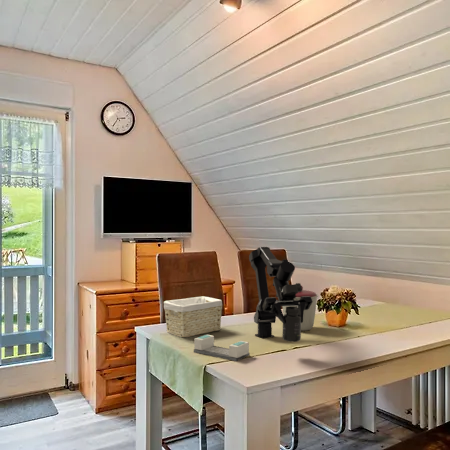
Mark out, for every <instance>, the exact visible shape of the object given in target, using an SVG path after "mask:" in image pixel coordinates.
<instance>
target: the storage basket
mask: <svg viewBox="0 0 450 450" xmlns="http://www.w3.org/2000/svg"><path fill="white" fill-rule="evenodd" d="M163 309H164V315H165V316H164V317H165V326H166V331H167V333H168V334H170V335H173V336H176V337H179V338H189V337H193V336H199V335H202V334H204V335H205V334H208V333H213V332H217V331H220V330H221V322H222V310H223V301H222V299H218V298H214V297H211V296H210V297H209V296H204V295H203V296H201V295H200V296H195V297H187V298H181V299H171V300H165V301H163Z"/></svg>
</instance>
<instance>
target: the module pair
mask: <svg viewBox="0 0 450 450" xmlns="http://www.w3.org/2000/svg"><path fill="white" fill-rule="evenodd" d="M214 343H215V336H214V335H210V334H204V335H201V336H199V337H195V338H194V344H193V345H194V349H197V350H204V349H207V348H209V347H212V346H215V344H214ZM228 346H229V347H228V349H229V356H230V357H235V358H238V357H240V356H243V355H245V354H247V353H250V352H249V351H250V343H249V341H243V340H239V341H236V342H235V343H232V344H229V345H228ZM194 349H193V350H194Z"/></svg>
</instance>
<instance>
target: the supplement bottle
mask: <svg viewBox="0 0 450 450" xmlns="http://www.w3.org/2000/svg"><path fill="white" fill-rule="evenodd" d="M298 313H299V308H297V307H286V314H285V315H283V316H284V319H285V324H283V323H282V333H281V334H282V335H281V337H282V340H284V341H286V342H290V343H291V342H292V343H296V342H299V341H301V339H302V331H301V316H300V315H298Z"/></svg>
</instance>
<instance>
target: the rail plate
mask: <svg viewBox="0 0 450 450" xmlns="http://www.w3.org/2000/svg"><path fill="white" fill-rule="evenodd" d="M193 353H195V354H196V353H197V354H201V355H205V356H211V357H215V358H219V359H223V360H227V361H228V360H229V361H234V362H238V361H240V360H243V359H245V358H246V357H249V356H250V354H251V353H250V352H249V353H247V354H245V355H243V356H240V357H238V358H235V357H230V356H229V347H222V346H218V345H214V346H212V347H209V348H207V349H204V350H197V349H193Z"/></svg>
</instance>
